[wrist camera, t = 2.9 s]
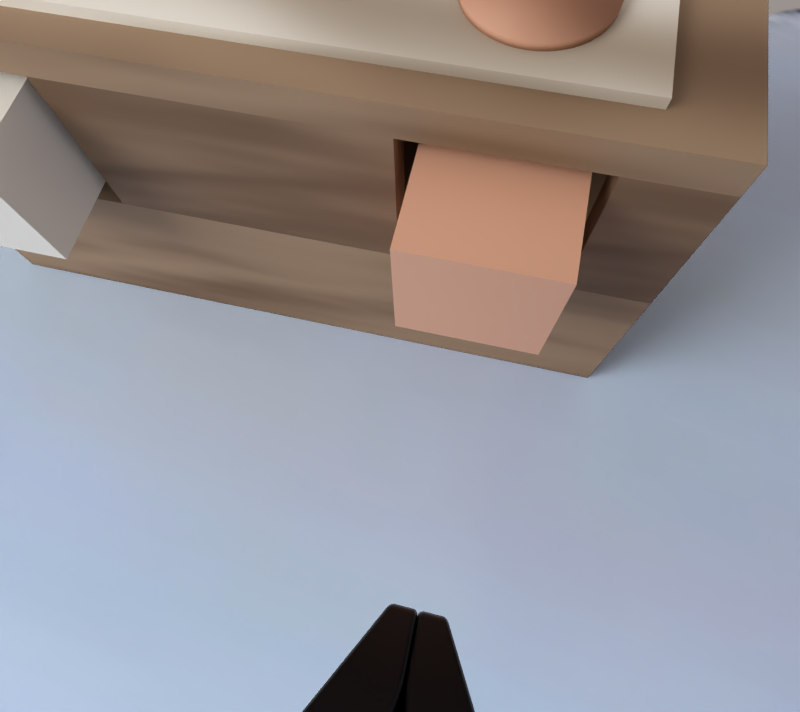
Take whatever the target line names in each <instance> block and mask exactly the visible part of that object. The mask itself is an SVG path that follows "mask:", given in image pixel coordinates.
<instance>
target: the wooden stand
mask: <svg viewBox="0 0 800 712" xmlns="http://www.w3.org/2000/svg"><path fill="white" fill-rule="evenodd" d="M0 72H3V73H9V74H15V75H21V76H26V77H27V78H28V79H29V81H30V82H31V83H32V85H33V86H34V87H35V89H36V90H37V91H38V93H39V94H40V95H41V97H42V98H43V99H44V100H45V102H46V103H47V104H48V106H49V107H50V108H51V110H52V111H53V112H54V114H55V115H56V116H57V118H58V119H59V120H60V121H61V123H62V124H63V125H64V127H65V128H66V129H67V131H68V132H69V133H70V135H71V136H72V137H73V139H74V140H75V141H76V142H77V144H78V145H79V146H80V148H81V149H82V150H83V152H84V153H85V154H86V156H87V157H88V158H89V159H90V161H91V162H92V163H93V165H94V166H95V167H96V169H97V170H98V171H99V173H100V174H101V175H102V177H103V178H104V179H105V180H106V182H105V184H104V186H103V188H102V190H101V192H100V194H99V196H98V198H97V200H96V202H95V204H94V206H93V208H92V210H91V212H90V214H89V216H88V218H87V220H86V222H85V224H84V226H83V228H82V230H81V232H80V234H79V236H78V238H77V240H76V242H75V244H74V246H73V248H72V250H71V252H70V254H69V256H68V258H67V259H62V258H57V257H52V256H47V255H42V254H37V253H32V252H28V251H23V250H18V249H15V250H17V251H18V252H19V253H20V254H21V255H23V256H24V257H25V258H26V259H27V260H29V261H30V262H31V263H32V264H35V265H40V266H45V267H50V268H55V269H59V270H64V271H69V272H74V273H79V274H84V275H89V276H94V277H98V278H103V279H108V280H113V281H118V282H123V283H128V284H133V285H138V286H142V287H147V288H152V289H157V290H162V291H167V292H172V293H177V294H182V295H186V296H191V297H196V298H201V299H206V300H211V301H216V302H221V303H226V304H230V305H235V306H240V307H245V308H250V309H255V310H260V311H265V312H270V313H274V314H279V315H284V316H289V317H294V318H299V319H304V320H309V321H313V322H318V323H323V324H328V325H333V326H338V327H343V328H348V329H353V330H357V331H362V332H367V333H372V334H377V335H382V336H387V337H392V338H397V339H401V340H406V341H411V342H416V343H421V344H426V345H431V346H436V347H441V348H445V349H450V350H455V351H460V352H465V353H470V354H475V355H480V356H485V357H489V358H494V359H499V360H504V361H509V362H514V363H519V364H524V365H528V366H533V367H538V368H543V369H548V370H553V371H558V372H563V373H568V374H572V375H577V376H582V377H587V378H588V377H589V376H590V375H591V373H592V372H593V371H594V370H595V369H596V368H597V366H598V365H599V364H600V363H601V362H602V360H603V359H604V358H605V357H606V356H607V355H608V353H609V352H610V351H611V350H612V349H613V347H614V346H615V345H616V344H617V343H618V342H619V340H620V339H621V338H622V337H623V336H624V334H625V333H626V332H627V331H628V330H629V329H630V327H631V326H632V325H633V324H634V323H635V321H636V320H637V319H638V318H639V317H640V316H641V314H642V313H643V312H644V311H645V310H646V308H647V307H648V306H649V305H650V304H651V303H652V301H653V300H654V299H655V298H656V297H657V295H658V294H659V293H660V292H661V291H662V290H663V288H664V287H665V286H666V285H667V284H668V282H669V281H670V280H671V279H672V278H673V277H674V275H675V274H676V273H677V272H678V271H679V269H680V268H681V267H682V266H683V265H684V264H685V262H686V261H687V260H688V259H689V258H690V256H691V255H692V254H693V253H694V252H695V251H696V249H697V248H698V247H699V246H700V245H701V243H702V242H703V241H704V240H705V239H706V238H707V236H708V235H709V234H710V233H711V232H712V230H713V229H714V228H715V227H716V226H717V225H718V223H719V222H720V221H721V220H722V219H723V217H724V216H725V215H726V214H727V213H728V212H729V210H730V209H731V208H732V207H733V206H734V204H735V203H736V202H737V201H738V200H739V199H740V197H741V196H742V195H743V194H744V193H745V192H746V190H747V189H748V188H749V187H750V186H751V184H752V183H753V182H754V181H755V180H756V179H757V177H758V176H759V175H760V174H761V173H762V171H763V170H764V169H765V168H766V167H767V166H768V0H0ZM419 143H423V144H429V145H435V146H441V147H447V148H452V149H458V150H464V151H470V152H476V153H482V154H488V155H494V156H500V157H506V158H512V159H517V160H523V161H529V162H535V163H541V164H547V165H553V166H559V167H565V168H571V169H577V170H583V171H588V172H592V177H591V184H590V192H589V199H588V206H587V213H586V221H585V228H584V235H583V243H582V250H581V257H580V264H579V272H578V279H577V285H576V287H575V289H574V291H573V292H572V294H571V296H570V298H569V300H568V302H567V303H566V305H565V307H564V309H563V311H562V312H561V314H560V316H559V318H558V320H557V322H556V323H555V325H554V327H553V329H552V331H551V333H550V334H549V336H548V338H547V340H546V342H545V344H544V345H543V347H542V349H541V351H540V353H539V355H536V354H531V353H526V352H521V351H517V350H512V349H507V348H502V347H497V346H492V345H487V344H482V343H477V342H472V341H467V340H462V339H457V338H452V337H447V336H442V335H437V334H433V333H428V332H423V331H418V330H413V329H408V328H403V327H398V326H395V316H394V302H393V287H392V273H391V258H390V247H391V243H392V240H393V236H394V232H395V229H396V225H397V221H398V218H399V214H400V210H401V207H402V203H403V199H404V196H405V192H406V189H407V185H408V181H409V178H410V174H411V170H412V167H413V163H414V159H415V156H416V152H417V148H418V145H419Z"/></svg>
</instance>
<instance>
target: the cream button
mask: <svg viewBox="0 0 800 712" xmlns="http://www.w3.org/2000/svg"><path fill="white" fill-rule="evenodd" d="M105 182H106V180H105V179H104V178H103V177H102V175H101V174H100V173H99V171H98V170H97V169H96V167H95V166H94V165H93V163H92V162H91V161H90V159H89V158H88V157H87V156H86V154H85V153H84V152H83V150H82V149H81V148H80V146H79V145H78V144H77V142H76V141H75V140H74V139H73V137H72V136H71V135H70V133H69V132H68V131H67V129H66V128H65V127H64V125H63V124H62V123H61V121H60V120H59V119H58V118H57V116H56V115H55V114H54V112H53V111H52V110H51V108H50V107H49V106H48V104H47V103H46V102H45V100H44V99H43V98H42V97H41V95H40V94H39V93H38V91H37V90H36V89H35V87H34V86H33V85H32V83H31V82H30V81H29V79H28V78H27V77H26V76H21V75H15V74H9V73H3V72H0V246H3V247H8V248H13V249H18V250H23V251H28V252H32V253H37V254H42V255H47V256H52V257H57V258H62V259H67V258H68V256H69V254H70V252H71V250H72V248H73V246H74V244H75V242H76V240H77V238H78V236H79V234H80V232H81V230H82V228H83V226H84V224H85V222H86V220H87V218H88V216H89V214H90V212H91V210H92V208H93V206H94V204H95V202H96V200H97V198H98V196H99V194H100V192H101V190H102V188H103V186H104V184H105Z"/></svg>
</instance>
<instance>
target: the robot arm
mask: <svg viewBox="0 0 800 712" xmlns="http://www.w3.org/2000/svg"><path fill="white" fill-rule="evenodd" d="M302 712H475V711H474V707H473V704H472V701H471V697H470V694H469V691H468V687H467V684H466V680H465V677H464V674H463V670H462V667H461V664H460V660H459V657H458V653H457V650H456V647H455V643H454V640H453V637H452V633H451V630H450V626H449V623H448V621H447V619H446V618H445V617H443V616H439V615H435V614H431V613H428V612H420V613H419V614H418V616H417V612H416V610H415V609H412V608H408V607H404V606H400V605H397V604H391V605H389V606H388V607H387V608H386V609H385V610H384V612H383V613H382V614H381V615H380V617H379V618H378V619H377V620H376V621H375V623H374V624H373V625H372V626H371V628H370V629H369V630H368V631H367V633H366V634H365V635H364V636H363V637H362V639H361V640H360V641H359V642H358V644H357V645H356V646H355V647H354V649H353V650H352V651H351V652H350V653H349V655H348V656H347V657H346V658H345V660H344V661H343V662H342V663H341V665H340V666H339V667H338V668H337V669H336V671H335V672H334V673H333V674H332V676H331V677H330V678H329V679H328V681H327V682H326V683H325V684H324V686H323V687H322V688H321V689H320V690H319V692H318V693H317V694H316V695H315V697H314V698H313V699H312V700H311V702H310V703H309V704H308V705H307V706H306V708H305V709H304V710H303V711H302Z"/></svg>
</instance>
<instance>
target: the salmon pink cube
mask: <svg viewBox="0 0 800 712" xmlns="http://www.w3.org/2000/svg"><path fill="white" fill-rule="evenodd" d="M591 177H592V172H588V171H583V170H577V169H571V168H565V167H559V166H553V165H547V164H541V163H535V162H529V161H523V160H517V159H512V158H506V157H500V156H494V155H488V154H482V153H476V152H470V151H464V150H458V149H452V148H447V147H441V146H435V145H429V144H423V143H419V145H418V148H417V152H416V156H415V159H414V163H413V167H412V170H411V174H410V178H409V181H408V185H407V189H406V192H405V196H404V199H403V203H402V207H401V210H400V214H399V218H398V221H397V225H396V229H395V232H394V236H393V240H392V243H391V247H390V258H391V273H392V287H393V302H394V316H395V326H398V327H403V328H408V329H413V330H418V331H423V332H428V333H433V334H437V335H442V336H447V337H452V338H457V339H462V340H467V341H472V342H477V343H482V344H487V345H492V346H497V347H502V348H507V349H512V350H517V351H521V352H526V353H531V354H536V355H539V353H540V351H541V349H542V347H543V345H544V344H545V342H546V340H547V338H548V336H549V334H550V333H551V331H552V329H553V327H554V325H555V323H556V322H557V320H558V318H559V316H560V314H561V312H562V311H563V309H564V307H565V305H566V303H567V302H568V300H569V298H570V296H571V294H572V292H573V291H574V289H575V287H576V285H577V279H578V272H579V264H580V257H581V250H582V243H583V235H584V228H585V221H586V213H587V206H588V199H589V192H590V184H591Z"/></svg>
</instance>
